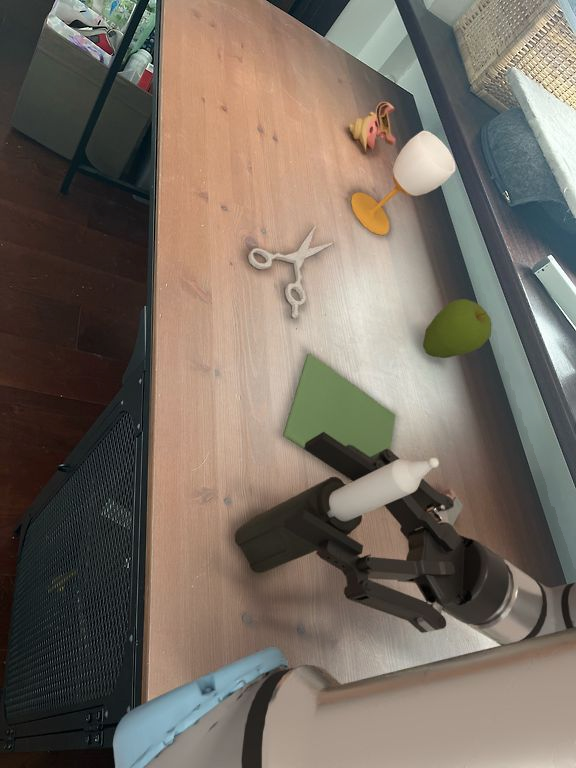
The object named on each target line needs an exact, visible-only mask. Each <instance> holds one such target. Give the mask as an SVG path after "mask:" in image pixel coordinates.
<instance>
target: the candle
mask: <svg viewBox="0 0 576 768" xmlns="http://www.w3.org/2000/svg"><path fill="white" fill-rule="evenodd" d="M439 465H440V461H439V459H438V458H436V457H434V456H433V457H430V458H429V459H428V460H418V461H416V460H415V461H413V460H408V459H405V458H400V459H398V460H396V461H394V462H392V463H390V464H388V465H386V466H384V467H381V468H379V469H377V470H375V471H373V472H371V473H369V474H367V475H365V476H363V477H361V478H359V479H357V480H355V481H353V480H352V481H351V482H349V483H347V484H346V483H344V481H343V480H342V479H340V477H338V476H331V477H328V478H327V479H324V480H323V481H321V482H319V483H317V484H315V485H313V486H312V487H309V488H308V489H306V490H304V491H302V492H300V493H298V494H296V495H294V496H292V497H290V498H288V499H286V500H285V501H283V502H281V503H278V504H277V505H275V506H274V507H272V508H269V509H267V510H265V511H263V512H261V513H259V514H258V515H256V516H254V517H253V518H252V519H250V520H249V521H247V522H246V523H245V524H243V525H242V526H241V527H239V528H238V529H237V530H236V532H235V534H234V540H235V543H236V545H237V546H239V547H240V549H241V551H242V552H243V554H244V556H245V557H246V559H247V560H248V562H249V564H250V566H249V567H250V568H251V570H252V571H253V572H255V573H257V574H262V573H265V572H267V571H268V572H269V571H271V570H272V569H275V568H277V567H279V566H283V565H285V564H287V563H290V562H292V561H295V560H297V559H300V558H302V557H305V556H307V555H309V554H312V553H314V552H317V548H318V547H317V546H315V545H313V544H311V543H310V542H308V541H306V540H305V539H303V538H301V537H300V536H298V535H296V534H294V533H293V532H291V531H289V530H288V529H286V528H284V527H283V526H284V522H285V519H287V518H289V517H291V516H293V515H295V514H297V513H299V512H301V511H303V510H305V511H307V512H309V513H310V514H312V515H314V516H315V517H317V518H319V519H320V520H322V521H324V522H325V523H327V524H328V525H330V526H332V527H333V528H335V529H337V530H338V531H340V532H342V533H343V534H345V535H347V536H349V535H350V534H351V533H352V532H353V531H354V530H355V529H357V528H358V527H359V526H360V525H361V523H362V520H363V515H365V514H367V513H371V512H372V511H374V510H376V509H379V508H381V507H384V505H386V504H388V503H390V502H393V501H395V500H397V499H399V498H402V497H404V496H406V495H409V494H411V493H413V492H415V491H416V490H417V488H418V486H419V484H420V481H421V479H424V477H425V476H426V475H428V473H429V472H430V471H431V470H432V469H437V468H438V467H439Z"/></svg>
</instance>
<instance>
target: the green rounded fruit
mask: <svg viewBox="0 0 576 768" xmlns="http://www.w3.org/2000/svg"><path fill="white" fill-rule="evenodd" d="M492 326H493V325H492V320H491V317H490V315H489V314H488V313H487V311H486V310H485V309H484V308H483V307H482V306H481V305H480V304H479V303H477V302H475V301H474V300H469V299H466V298H460V299H455V300H451V301H450V302H448V303H447V304H446V305H445V306H444V307H443V308H442V309H440V311H438V312H437V314H436V315H435V316H434V317H433V319H432V320H431V322H430V323H429V325H428V326H426V329H425V330H424V336H423V342H422V347H423V349H424V351H425V353H426V354H427V355H428V356H430V357H434V358H439V359H448V358H453V357H457V356H461V355H466V354H468V353H471V352H473V351H475V350H479V349H481V348H482V347H483V345H485V343H486V342H487V341H488V340H489V339H490V338H491V335H492Z"/></svg>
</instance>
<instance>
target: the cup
mask: <svg viewBox="0 0 576 768" xmlns="http://www.w3.org/2000/svg"><path fill="white" fill-rule="evenodd" d="M455 172H456V163H455V159H454V156H453V155H452V153H451V152H450V150H449V149H448V147H447V146H446V145H445V143H443V141H442V140H441V139H439V138H438V137H437V136H436V135H435V134H433V133H431V132H430V131H426V130H422V131H420V132H418V133H417V134H416V135H414V136H413V137H412V138H410V139H408V141H407V143H406V144H405V145H404V146H403V147H402V148H401V150H400V151H399V154H398V155H397V157H396V159H395V162H394V164H393V168H392V180H393V184H394V185H395V186H394V188H393V189H392V190H391V191H390V192H389V193H387V194H386V195H385V196H384V197H383V198H382V199H381V200H380V201H379V202H378V201H376V200H375V199H374V198H373V197H371V196H370V195H369V194H366V193H364V192H355V193H354V194H352V195H351V198H350V204H351V209H352V211H353V213H354V215H355V217H356V219H357V220H358V221H359V222H360V224H362V226H363V227H365V228H366V229H367V230H368V231H370V233H373V234H376V235H378V236H385V235H386V234H387V233H388V232H389V231H390V220H389V218H388V215H387V214H386V212H385V210H384V208H383V206H384V205H385V204H386V203H387V202H388V201H390V200H391V199H392V198H393V197H394V196H395V195H396V194H397V193H398V192H400V193H402V194H404V195H406V196H413V197H418V196H422V195H425V194H428V193H431V192H433V191H434V190H436V189H438V188H439V187H440V186H442V185H443V184H444V183H446V182H447V181H448V180H449V179H450V177H452V175H453V174H454V173H455Z"/></svg>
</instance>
